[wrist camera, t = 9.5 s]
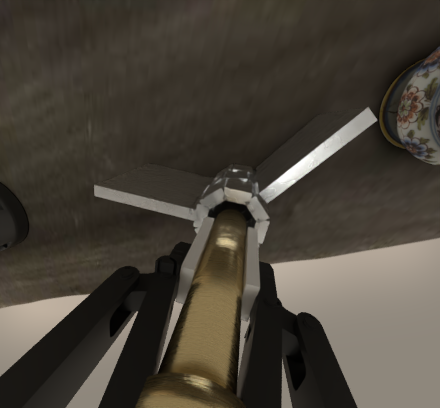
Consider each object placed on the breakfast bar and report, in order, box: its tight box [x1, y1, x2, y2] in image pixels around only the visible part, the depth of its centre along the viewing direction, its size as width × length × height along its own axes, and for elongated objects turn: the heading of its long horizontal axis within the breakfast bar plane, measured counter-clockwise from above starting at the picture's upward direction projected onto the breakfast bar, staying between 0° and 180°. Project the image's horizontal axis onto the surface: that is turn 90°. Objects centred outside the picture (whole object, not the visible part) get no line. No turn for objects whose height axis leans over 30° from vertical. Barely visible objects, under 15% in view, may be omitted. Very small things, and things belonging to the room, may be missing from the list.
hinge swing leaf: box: [209, 107, 377, 223], centre depth 23 cm, size 18×7×12 cm, turn 133°
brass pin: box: [135, 209, 246, 408], centre depth 13 cm, size 4×4×15 cm
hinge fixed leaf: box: [94, 163, 270, 247], centre depth 25 cm, size 18×7×12 cm, turn 78°
